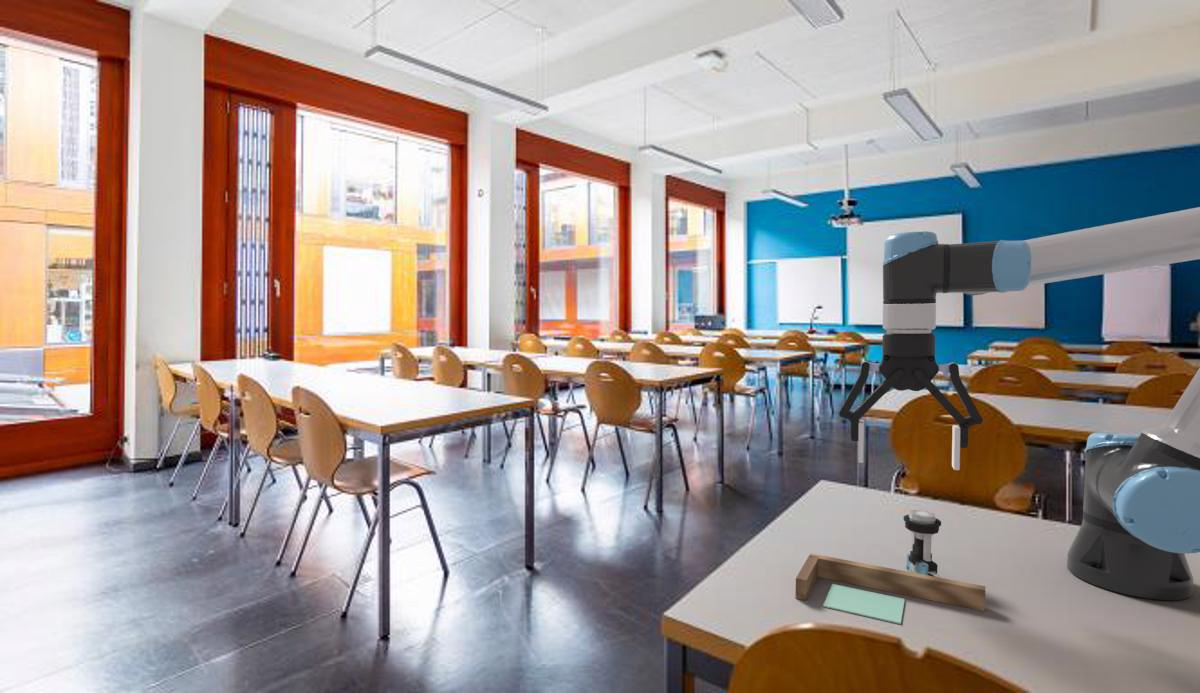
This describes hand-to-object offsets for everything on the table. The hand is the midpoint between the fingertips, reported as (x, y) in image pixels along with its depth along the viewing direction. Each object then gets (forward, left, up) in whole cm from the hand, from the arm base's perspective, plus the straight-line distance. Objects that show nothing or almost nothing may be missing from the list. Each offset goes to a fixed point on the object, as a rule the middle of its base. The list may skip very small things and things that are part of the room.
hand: (906, 464), depth 99 cm
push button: (-3, 0, -18) cm, 18 cm away
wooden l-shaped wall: (+1, +13, -18) cm, 22 cm away
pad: (+4, +15, -18) cm, 23 cm away
